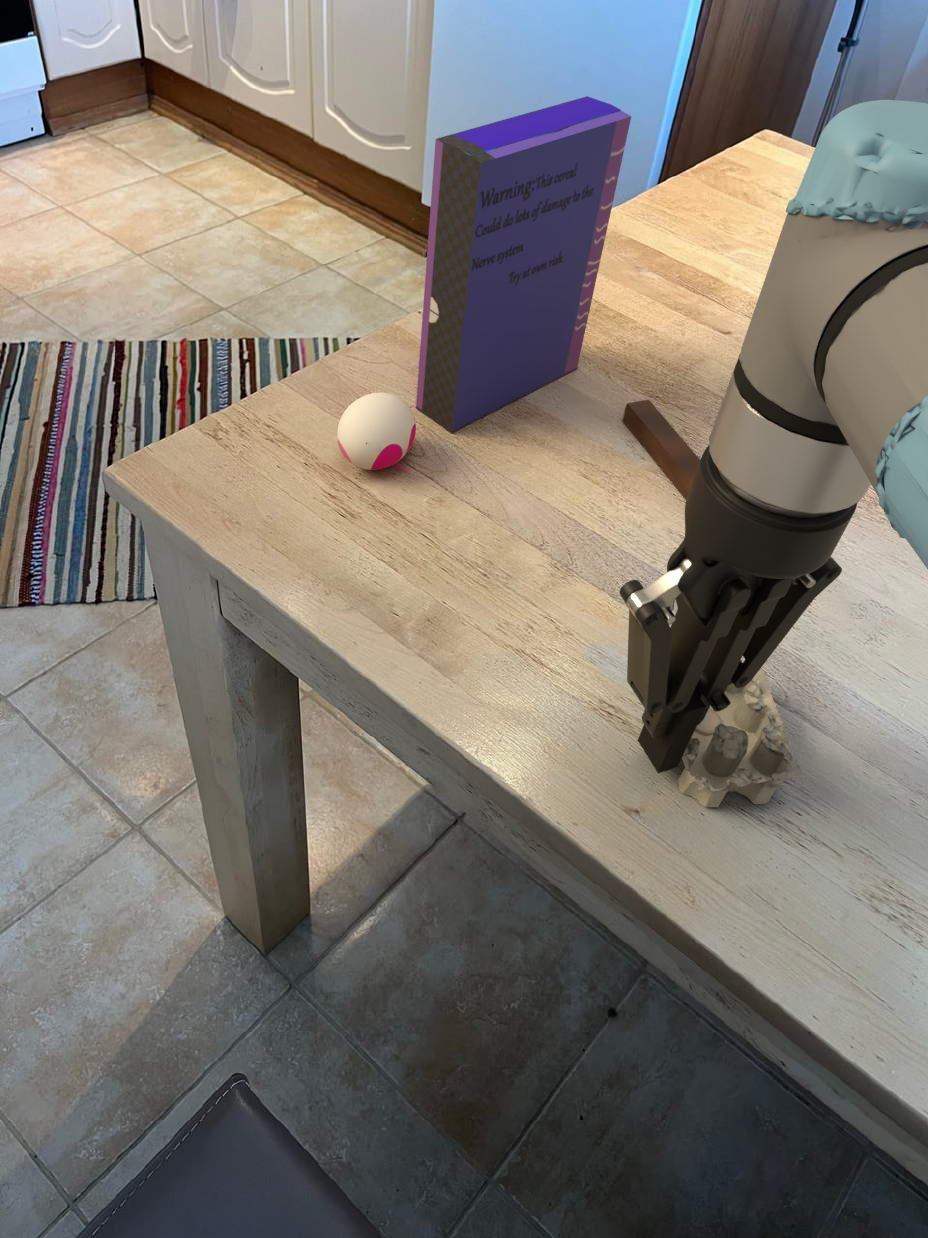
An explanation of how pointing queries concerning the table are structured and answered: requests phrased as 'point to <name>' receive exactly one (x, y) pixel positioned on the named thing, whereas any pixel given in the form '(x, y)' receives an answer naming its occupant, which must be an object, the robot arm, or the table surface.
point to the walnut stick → (662, 444)
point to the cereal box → (514, 255)
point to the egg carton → (739, 748)
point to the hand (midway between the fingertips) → (657, 753)
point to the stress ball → (376, 431)
